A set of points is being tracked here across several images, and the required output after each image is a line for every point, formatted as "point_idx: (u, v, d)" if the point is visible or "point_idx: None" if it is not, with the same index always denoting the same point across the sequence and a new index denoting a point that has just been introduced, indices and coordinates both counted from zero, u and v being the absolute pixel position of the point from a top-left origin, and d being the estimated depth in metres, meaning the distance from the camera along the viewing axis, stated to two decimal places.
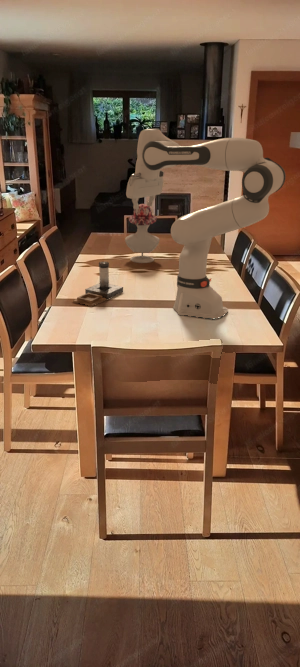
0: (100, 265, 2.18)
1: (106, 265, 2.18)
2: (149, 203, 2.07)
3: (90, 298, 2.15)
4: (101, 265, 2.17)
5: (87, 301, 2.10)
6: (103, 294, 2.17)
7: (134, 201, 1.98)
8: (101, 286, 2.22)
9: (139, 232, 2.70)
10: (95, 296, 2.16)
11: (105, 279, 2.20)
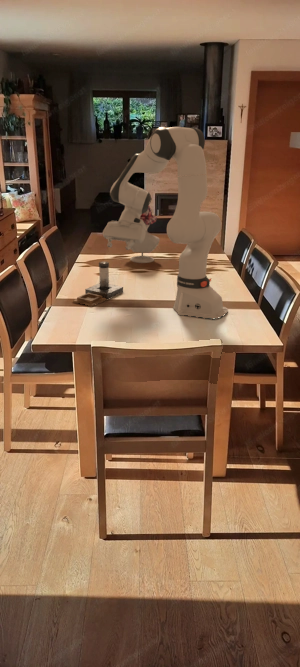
0: (100, 265, 2.18)
1: (106, 265, 2.18)
2: None
3: (90, 298, 2.15)
4: (101, 265, 2.17)
5: (87, 301, 2.10)
6: (103, 294, 2.17)
7: None
8: (101, 286, 2.22)
9: None
10: (95, 296, 2.16)
11: (105, 279, 2.20)
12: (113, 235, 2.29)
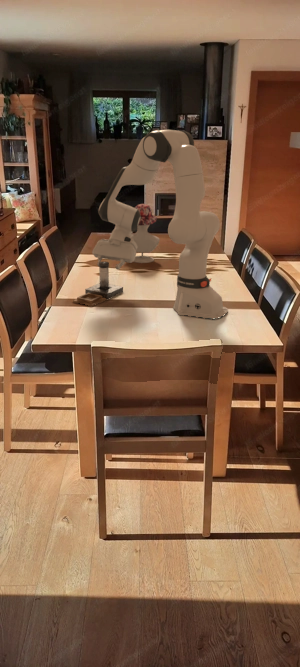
0: (100, 265, 2.18)
1: (106, 265, 2.18)
2: None
3: (90, 298, 2.15)
4: (101, 265, 2.17)
5: (87, 301, 2.10)
6: (103, 294, 2.17)
7: None
8: (101, 286, 2.22)
9: (139, 232, 2.70)
10: (95, 296, 2.16)
11: (105, 279, 2.20)
12: (103, 254, 2.25)
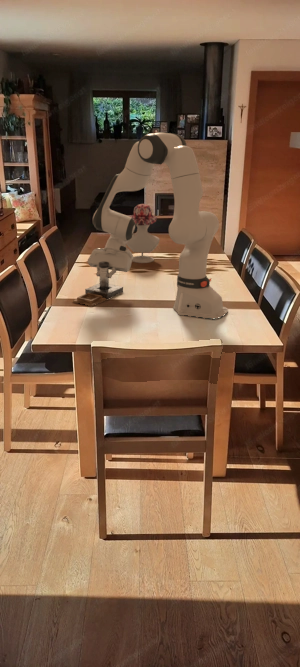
0: (100, 265, 2.18)
1: (106, 265, 2.18)
2: None
3: (90, 298, 2.15)
4: (101, 265, 2.17)
5: (87, 301, 2.10)
6: (103, 294, 2.17)
7: None
8: (101, 286, 2.22)
9: (139, 232, 2.70)
10: (95, 296, 2.16)
11: (105, 279, 2.20)
12: (98, 263, 2.23)
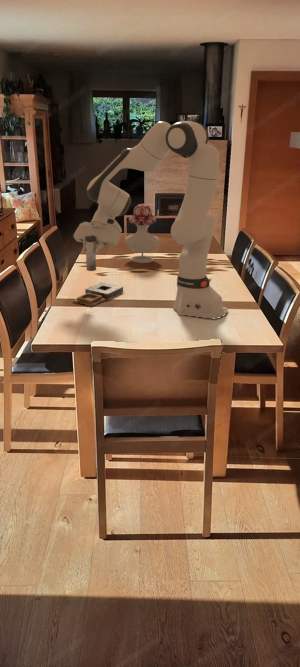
0: (86, 239, 2.04)
1: (92, 239, 2.04)
2: None
3: (90, 298, 2.15)
4: (87, 239, 2.04)
5: (87, 301, 2.10)
6: (103, 294, 2.17)
7: None
8: (88, 262, 2.08)
9: (139, 232, 2.70)
10: (95, 296, 2.16)
11: (92, 254, 2.07)
12: None
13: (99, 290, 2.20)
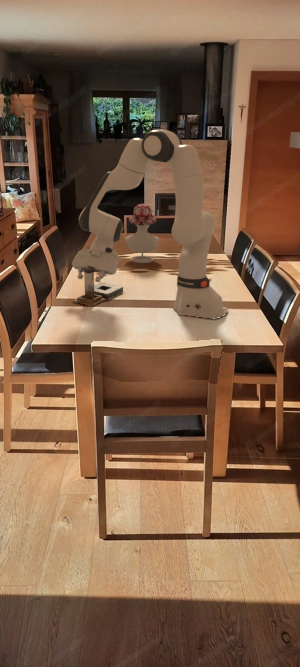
0: (85, 270, 2.08)
1: (91, 270, 2.07)
2: None
3: None
4: (86, 270, 2.07)
5: (87, 301, 2.10)
6: (103, 294, 2.17)
7: None
8: (86, 292, 2.11)
9: (139, 232, 2.70)
10: (95, 296, 2.16)
11: (90, 285, 2.10)
12: (83, 266, 2.12)
13: (99, 290, 2.20)
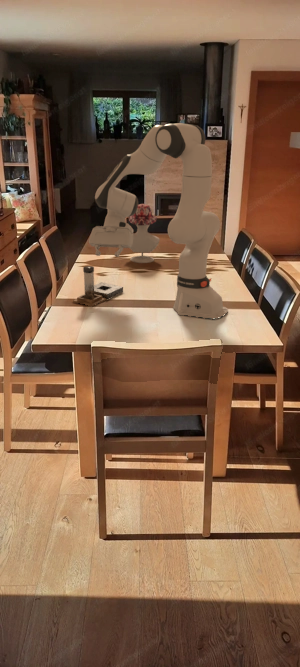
0: (84, 270, 2.08)
1: (91, 270, 2.08)
2: None
3: None
4: (86, 270, 2.07)
5: (87, 301, 2.10)
6: (103, 294, 2.17)
7: None
8: (86, 292, 2.11)
9: (139, 232, 2.70)
10: (95, 296, 2.16)
11: (90, 284, 2.10)
12: (100, 243, 2.20)
13: (99, 290, 2.20)
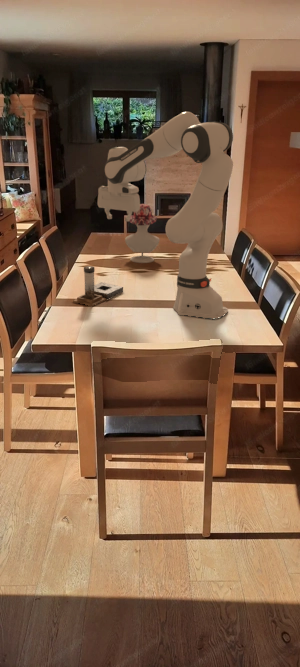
0: (85, 270, 2.07)
1: (91, 270, 2.07)
2: None
3: None
4: (86, 270, 2.07)
5: (87, 301, 2.10)
6: (103, 294, 2.17)
7: None
8: (86, 292, 2.11)
9: (139, 232, 2.70)
10: (95, 296, 2.16)
11: (90, 285, 2.10)
12: (109, 207, 2.18)
13: (99, 290, 2.20)
